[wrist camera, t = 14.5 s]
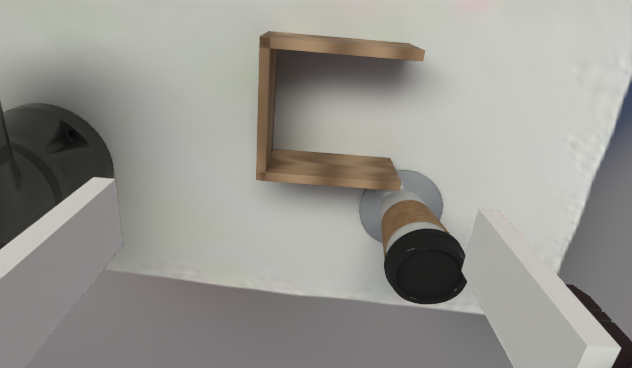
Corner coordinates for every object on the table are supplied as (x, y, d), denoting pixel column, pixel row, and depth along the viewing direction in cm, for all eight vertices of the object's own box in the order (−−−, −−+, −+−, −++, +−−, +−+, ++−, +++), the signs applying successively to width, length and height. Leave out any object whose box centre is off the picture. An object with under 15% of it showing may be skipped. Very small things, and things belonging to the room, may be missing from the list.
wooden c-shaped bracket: (264, 155, 53) (256, 180, 46) (268, 31, 47) (259, 36, 40) (388, 165, 53) (400, 191, 46) (408, 43, 47) (424, 50, 40)
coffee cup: (432, 234, 57) (470, 308, 43) (371, 239, 57) (388, 313, 43) (434, 178, 53) (475, 238, 40) (368, 183, 54) (386, 245, 40)
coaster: (354, 240, 58) (355, 242, 57) (365, 167, 54) (365, 168, 53) (432, 245, 58) (433, 248, 58) (449, 173, 54) (450, 175, 53)
